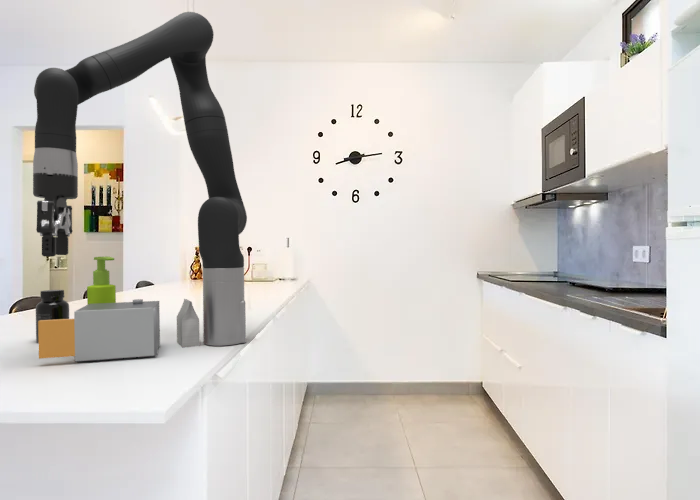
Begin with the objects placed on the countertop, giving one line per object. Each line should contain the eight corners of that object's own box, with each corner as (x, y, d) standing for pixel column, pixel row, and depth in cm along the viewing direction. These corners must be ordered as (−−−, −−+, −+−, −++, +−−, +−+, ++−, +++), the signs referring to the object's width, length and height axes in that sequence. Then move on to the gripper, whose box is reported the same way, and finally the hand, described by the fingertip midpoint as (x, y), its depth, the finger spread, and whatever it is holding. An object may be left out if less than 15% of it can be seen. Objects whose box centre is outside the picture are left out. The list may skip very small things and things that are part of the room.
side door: (157, 354, 96) (157, 307, 95) (157, 355, 94) (156, 307, 94) (41, 362, 90) (40, 312, 89) (38, 363, 88) (38, 313, 88)
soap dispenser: (99, 345, 106) (98, 257, 106) (82, 342, 110) (81, 256, 110) (124, 341, 111) (122, 256, 111) (107, 338, 115) (106, 256, 115)
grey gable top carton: (182, 347, 104) (181, 302, 104) (176, 342, 110) (176, 299, 109) (199, 345, 106) (198, 301, 105) (193, 340, 111) (192, 298, 111)
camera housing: (160, 343, 108) (159, 296, 108) (154, 356, 96) (154, 303, 96) (92, 348, 104) (91, 299, 104) (77, 361, 92) (76, 306, 92)
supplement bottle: (75, 339, 114) (74, 289, 114) (44, 344, 108) (43, 292, 108) (60, 336, 118) (60, 288, 117) (30, 341, 112) (29, 290, 112)
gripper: (45, 177, 99) (45, 254, 100) (20, 167, 86) (20, 256, 86) (85, 179, 102) (85, 254, 102) (67, 169, 88) (67, 256, 88)
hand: (55, 255), depth 94 cm, fingers open, 8 cm apart
